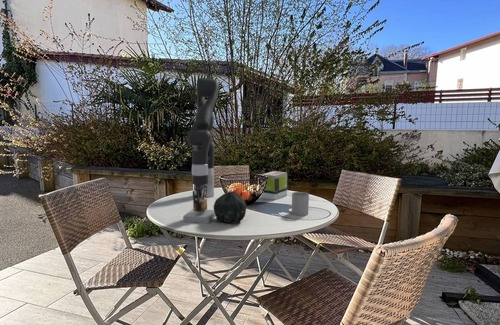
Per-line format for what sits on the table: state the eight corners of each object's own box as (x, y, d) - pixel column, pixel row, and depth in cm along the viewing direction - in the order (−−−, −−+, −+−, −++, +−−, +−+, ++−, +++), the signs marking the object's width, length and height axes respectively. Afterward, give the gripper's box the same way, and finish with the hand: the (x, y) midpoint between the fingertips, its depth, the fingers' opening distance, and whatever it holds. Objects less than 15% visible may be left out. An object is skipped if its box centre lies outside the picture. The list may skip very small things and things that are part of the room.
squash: (229, 202, 155) (217, 183, 145) (255, 207, 148) (245, 188, 138) (215, 226, 148) (202, 208, 138) (242, 233, 140) (231, 215, 130)
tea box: (273, 193, 200) (274, 170, 198) (287, 195, 194) (288, 172, 192) (260, 197, 188) (260, 173, 186) (274, 200, 182) (275, 175, 180)
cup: (297, 216, 151) (298, 196, 150) (288, 212, 159) (288, 192, 157) (311, 214, 155) (312, 194, 154) (301, 210, 163) (302, 191, 161)
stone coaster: (192, 213, 154) (192, 208, 154) (216, 215, 152) (216, 210, 152) (183, 221, 142) (183, 216, 142) (208, 223, 140) (208, 217, 140)
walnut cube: (207, 209, 149) (206, 198, 148) (203, 212, 144) (203, 201, 143) (196, 208, 149) (196, 198, 149) (193, 211, 145) (193, 201, 144)
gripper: (202, 176, 137) (203, 214, 139) (212, 171, 151) (212, 205, 153) (186, 175, 138) (187, 213, 140) (197, 170, 152) (197, 205, 154)
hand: (200, 209), depth 147 cm, fingers closed on walnut cube, 4 cm apart
